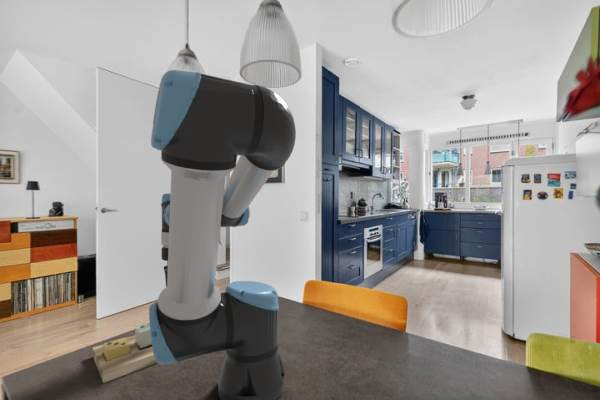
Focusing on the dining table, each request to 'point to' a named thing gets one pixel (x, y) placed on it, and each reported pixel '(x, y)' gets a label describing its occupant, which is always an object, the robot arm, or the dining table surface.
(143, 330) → the tile two
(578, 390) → the dining table surface
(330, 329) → the dining table surface
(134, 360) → the board
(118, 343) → the tile three
